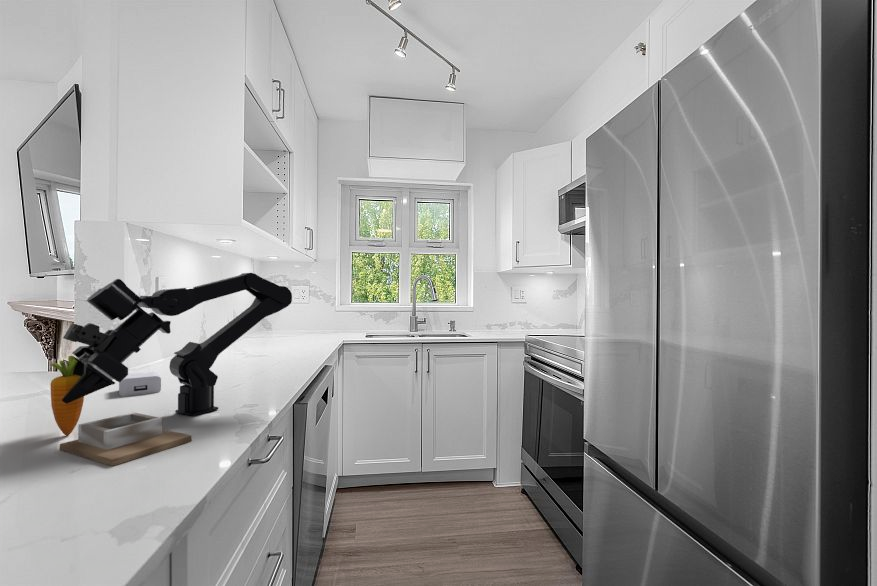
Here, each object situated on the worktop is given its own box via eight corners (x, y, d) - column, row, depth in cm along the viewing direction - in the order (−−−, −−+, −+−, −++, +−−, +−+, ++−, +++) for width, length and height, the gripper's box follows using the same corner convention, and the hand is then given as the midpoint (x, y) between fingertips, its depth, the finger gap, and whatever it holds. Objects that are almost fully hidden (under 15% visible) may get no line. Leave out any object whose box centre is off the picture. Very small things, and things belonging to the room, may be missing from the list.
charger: (156, 383, 131) (160, 392, 119) (118, 387, 125) (119, 397, 113) (156, 368, 131) (161, 375, 119) (118, 371, 125) (119, 379, 113)
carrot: (64, 440, 79) (64, 358, 79) (42, 438, 80) (43, 357, 80) (91, 432, 84) (91, 355, 84) (70, 430, 85) (71, 354, 85)
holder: (139, 428, 86) (140, 408, 86) (191, 441, 79) (191, 419, 79) (59, 449, 74) (60, 426, 74) (112, 466, 67) (112, 440, 67)
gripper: (86, 307, 91) (12, 365, 83) (108, 309, 79) (23, 378, 71) (130, 342, 97) (65, 399, 89) (156, 349, 85) (84, 416, 76)
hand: (59, 398), depth 81 cm, fingers open, 9 cm apart
